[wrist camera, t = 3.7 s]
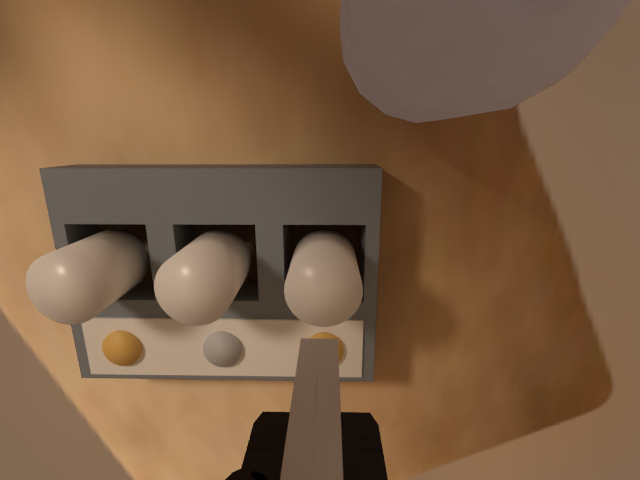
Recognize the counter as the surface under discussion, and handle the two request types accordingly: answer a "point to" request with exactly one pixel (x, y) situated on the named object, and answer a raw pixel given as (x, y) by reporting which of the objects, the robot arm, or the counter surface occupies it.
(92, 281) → the button
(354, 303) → the button
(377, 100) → the soap bottle
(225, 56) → the counter surface
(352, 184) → the board
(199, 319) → the button
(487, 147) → the counter surface
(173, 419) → the counter surface
